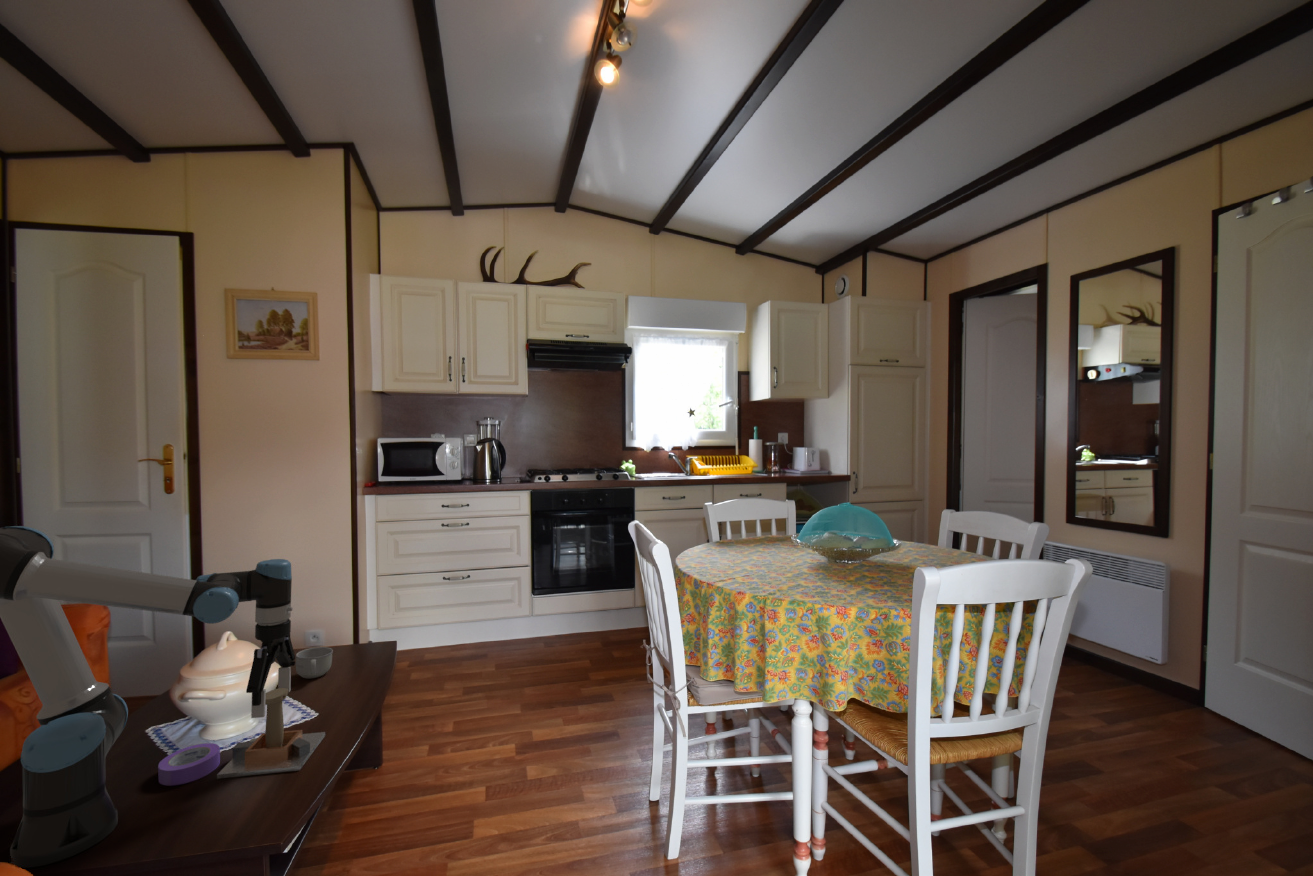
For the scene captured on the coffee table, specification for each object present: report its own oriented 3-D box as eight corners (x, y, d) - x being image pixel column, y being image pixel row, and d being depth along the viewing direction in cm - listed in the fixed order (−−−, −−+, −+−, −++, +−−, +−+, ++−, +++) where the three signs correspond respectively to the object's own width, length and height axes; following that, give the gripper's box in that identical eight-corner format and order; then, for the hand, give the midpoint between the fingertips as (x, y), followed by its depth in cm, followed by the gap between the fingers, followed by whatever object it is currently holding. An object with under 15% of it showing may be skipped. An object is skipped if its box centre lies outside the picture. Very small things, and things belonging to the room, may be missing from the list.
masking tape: (144, 786, 133) (144, 770, 132) (186, 757, 144) (186, 742, 144) (193, 786, 132) (193, 770, 132) (231, 757, 144) (231, 742, 144)
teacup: (301, 670, 196) (301, 647, 196) (336, 666, 199) (336, 644, 199) (288, 688, 183) (288, 663, 182) (326, 683, 186) (325, 659, 186)
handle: (256, 759, 141) (256, 699, 141) (274, 745, 148) (274, 688, 148) (275, 759, 141) (275, 699, 141) (292, 745, 148) (292, 688, 148)
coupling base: (217, 778, 135) (216, 762, 135) (251, 742, 151) (251, 727, 151) (299, 770, 138) (299, 754, 138) (325, 735, 154) (325, 721, 154)
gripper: (265, 637, 132) (263, 727, 132) (309, 605, 157) (308, 681, 157) (229, 639, 131) (227, 730, 131) (280, 606, 156) (278, 683, 156)
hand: (271, 704), depth 144 cm, fingers open, 13 cm apart
